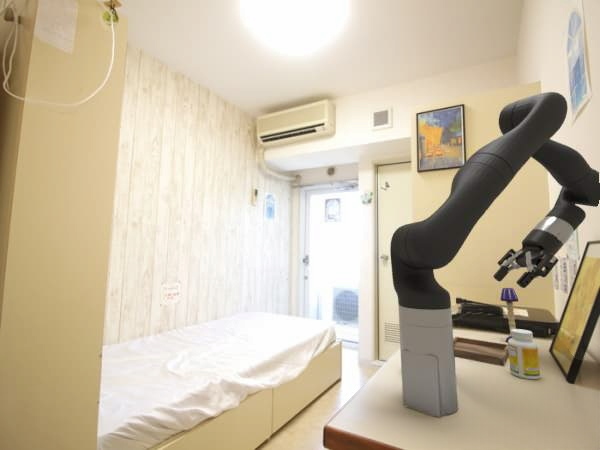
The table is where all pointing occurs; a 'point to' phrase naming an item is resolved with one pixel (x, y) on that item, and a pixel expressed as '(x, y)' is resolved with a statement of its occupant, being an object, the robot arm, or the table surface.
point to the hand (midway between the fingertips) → (507, 282)
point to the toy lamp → (509, 306)
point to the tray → (481, 350)
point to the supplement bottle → (523, 354)
